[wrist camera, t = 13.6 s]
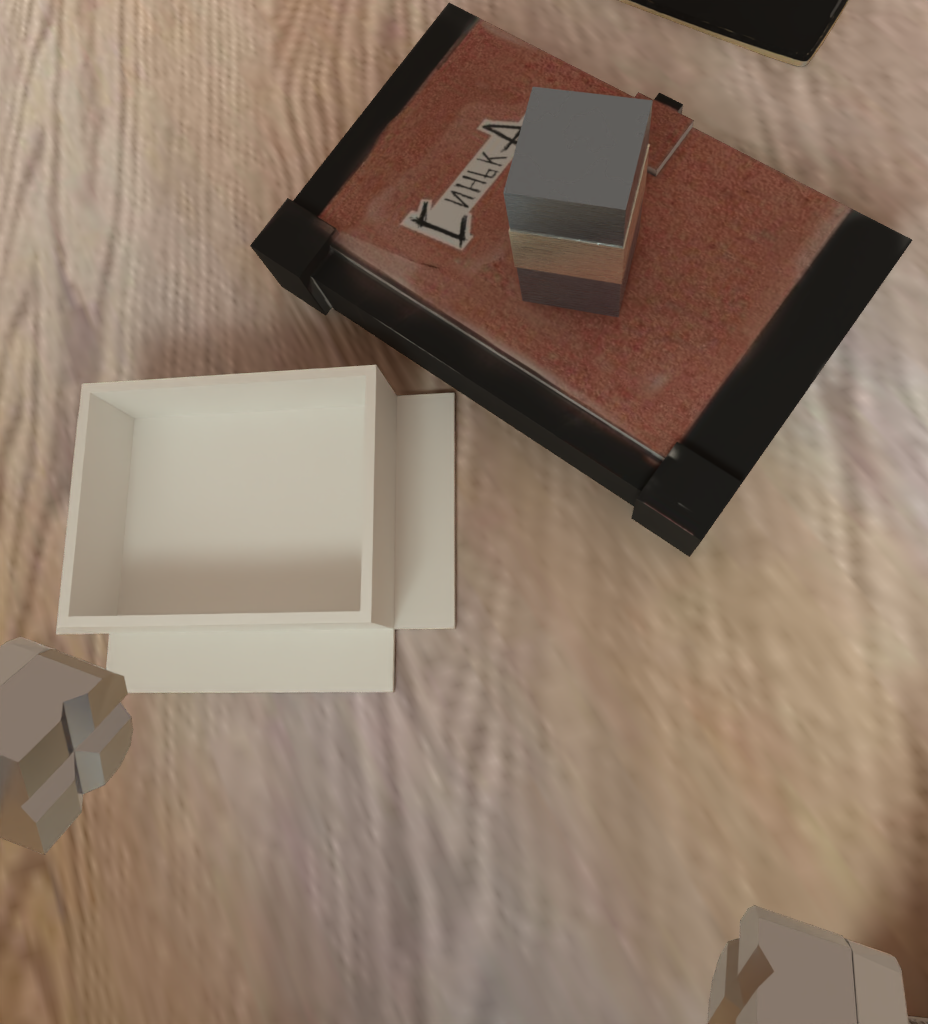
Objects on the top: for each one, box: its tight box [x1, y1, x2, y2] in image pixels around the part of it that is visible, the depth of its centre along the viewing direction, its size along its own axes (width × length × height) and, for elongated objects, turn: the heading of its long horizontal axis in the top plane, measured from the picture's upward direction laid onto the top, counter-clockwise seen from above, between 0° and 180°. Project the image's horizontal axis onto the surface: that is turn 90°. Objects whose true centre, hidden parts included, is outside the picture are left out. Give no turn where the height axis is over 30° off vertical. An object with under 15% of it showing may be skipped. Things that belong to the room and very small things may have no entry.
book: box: [250, 3, 912, 557], centre depth 41 cm, size 26×18×5 cm
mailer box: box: [56, 365, 455, 693], centre depth 40 cm, size 15×21×4 cm
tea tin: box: [503, 87, 653, 317], centre depth 34 cm, size 5×5×8 cm
